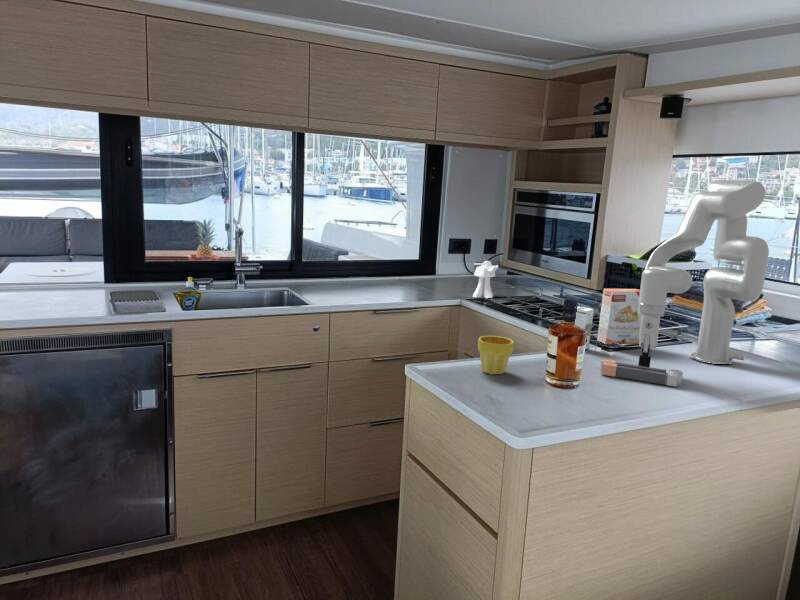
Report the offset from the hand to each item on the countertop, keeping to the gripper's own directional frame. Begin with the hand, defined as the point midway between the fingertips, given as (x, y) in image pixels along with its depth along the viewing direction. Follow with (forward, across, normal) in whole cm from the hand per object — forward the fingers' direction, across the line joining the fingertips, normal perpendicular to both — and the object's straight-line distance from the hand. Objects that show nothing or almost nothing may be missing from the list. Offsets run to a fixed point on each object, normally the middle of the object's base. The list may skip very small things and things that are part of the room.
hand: (643, 367), depth 184 cm
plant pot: (+1, -26, +40) cm, 48 cm away
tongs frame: (+1, -9, 0) cm, 9 cm away
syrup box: (+2, +17, +22) cm, 28 cm away
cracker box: (+2, +29, +10) cm, 31 cm away
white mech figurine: (+2, +94, +81) cm, 124 cm away
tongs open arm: (+1, -6, +3) cm, 7 cm away
